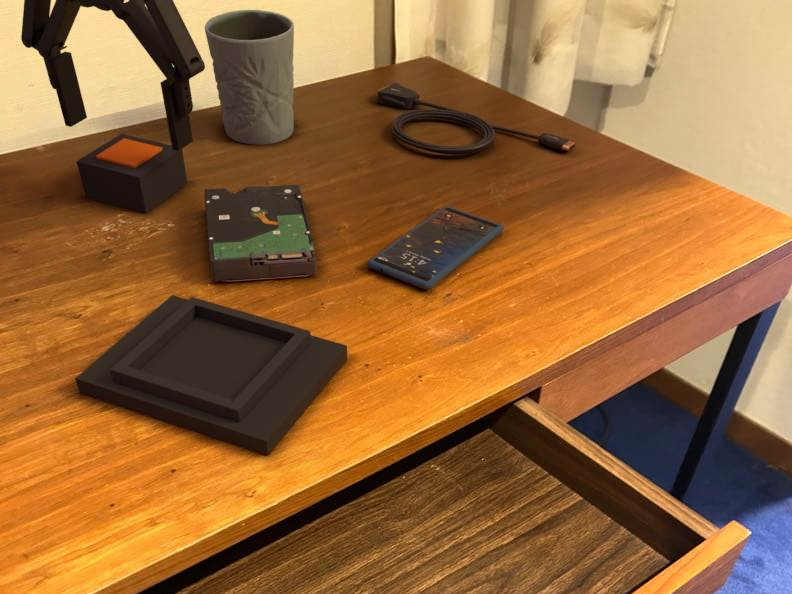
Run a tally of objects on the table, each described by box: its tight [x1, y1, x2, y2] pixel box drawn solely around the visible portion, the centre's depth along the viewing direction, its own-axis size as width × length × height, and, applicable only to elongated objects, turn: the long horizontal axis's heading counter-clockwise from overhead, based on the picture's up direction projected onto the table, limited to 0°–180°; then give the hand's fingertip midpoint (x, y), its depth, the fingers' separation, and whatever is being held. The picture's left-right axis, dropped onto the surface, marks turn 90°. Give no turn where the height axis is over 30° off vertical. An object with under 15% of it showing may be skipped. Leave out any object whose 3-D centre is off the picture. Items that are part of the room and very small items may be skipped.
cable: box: [376, 82, 576, 155], centre depth 107 cm, size 14×28×2 cm, turn 55°
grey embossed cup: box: [204, 9, 295, 146], centre depth 103 cm, size 10×10×12 cm
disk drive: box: [203, 184, 317, 283], centre depth 88 cm, size 10×3×15 cm
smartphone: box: [367, 205, 504, 290], centre depth 88 cm, size 8×1×15 cm
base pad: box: [74, 294, 348, 456], centre depth 72 cm, size 18×14×3 cm
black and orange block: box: [75, 133, 188, 214], centre depth 94 cm, size 8×8×4 cm
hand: (128, 133), depth 91 cm, fingers open, 13 cm apart
